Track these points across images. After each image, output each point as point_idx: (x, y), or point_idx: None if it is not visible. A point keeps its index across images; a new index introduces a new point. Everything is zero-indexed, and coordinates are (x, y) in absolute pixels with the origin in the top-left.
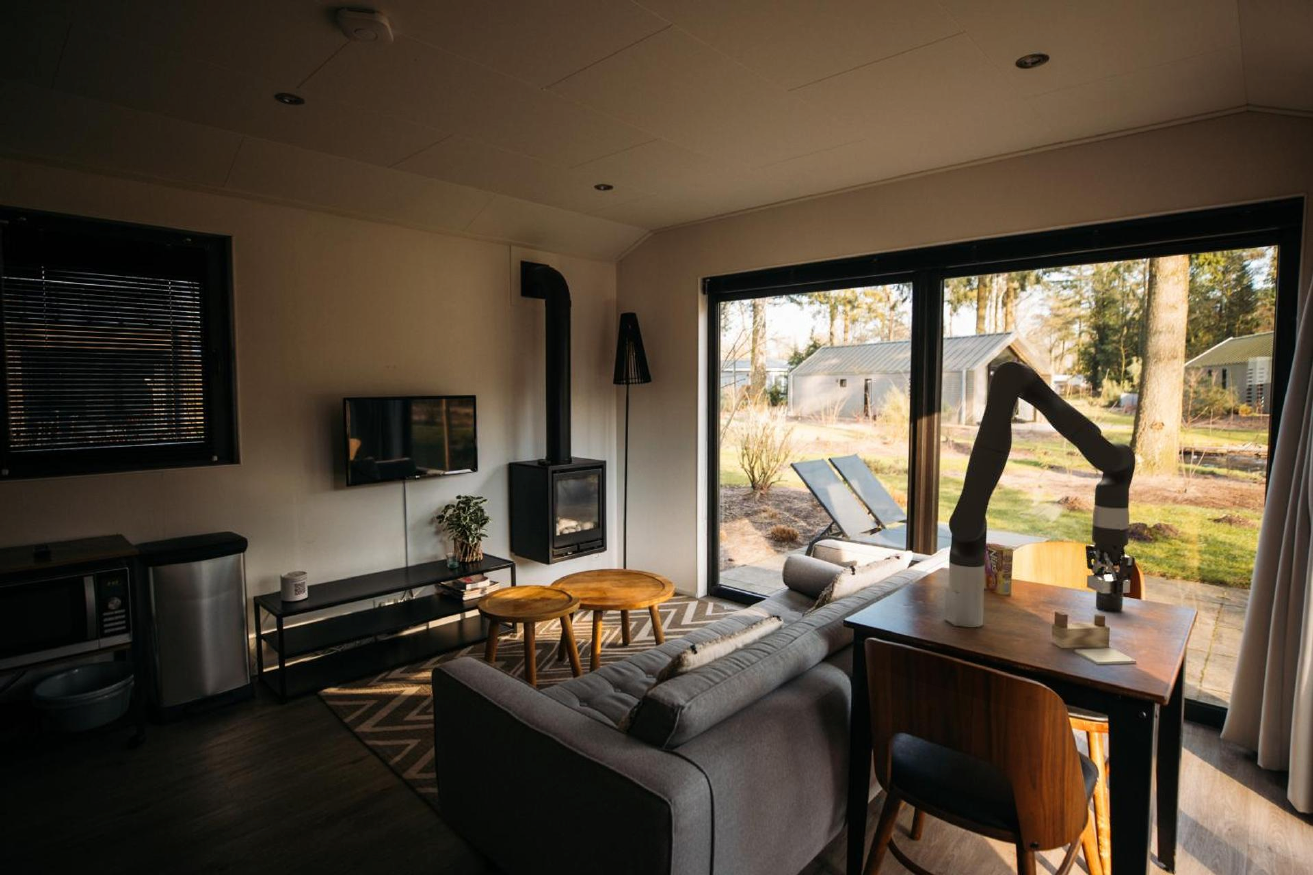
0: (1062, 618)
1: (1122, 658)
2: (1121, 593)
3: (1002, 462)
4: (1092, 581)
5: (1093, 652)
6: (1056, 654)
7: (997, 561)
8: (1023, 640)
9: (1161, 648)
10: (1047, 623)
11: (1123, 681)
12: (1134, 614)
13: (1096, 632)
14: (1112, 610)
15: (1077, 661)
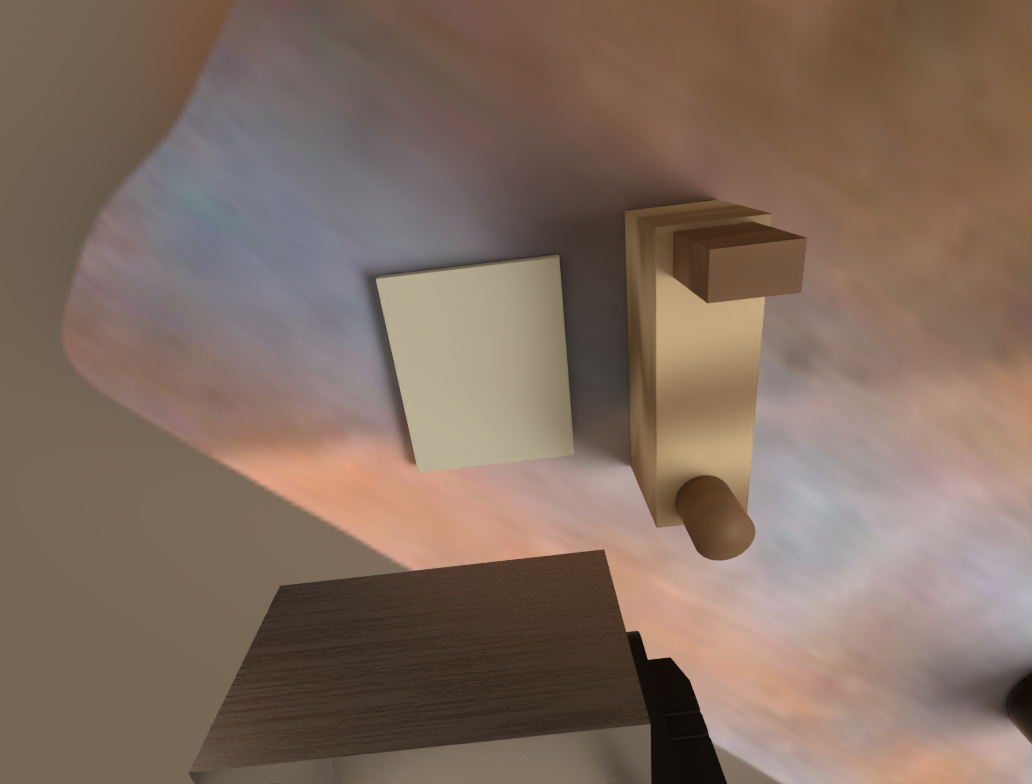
0: (699, 250)
1: (441, 429)
2: None
3: None
4: (490, 661)
5: (518, 336)
6: (519, 113)
7: None
8: (777, 12)
9: None
10: (999, 347)
11: (151, 276)
12: (962, 735)
13: (649, 444)
14: (1020, 692)
15: (412, 184)
